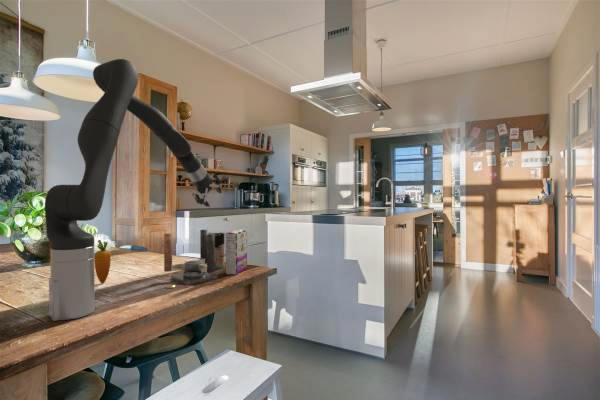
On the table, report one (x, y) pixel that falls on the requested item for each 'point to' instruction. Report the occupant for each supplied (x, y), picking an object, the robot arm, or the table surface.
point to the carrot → (102, 262)
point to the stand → (192, 277)
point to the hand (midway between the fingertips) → (213, 199)
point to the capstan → (200, 265)
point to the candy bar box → (236, 251)
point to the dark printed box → (219, 248)
